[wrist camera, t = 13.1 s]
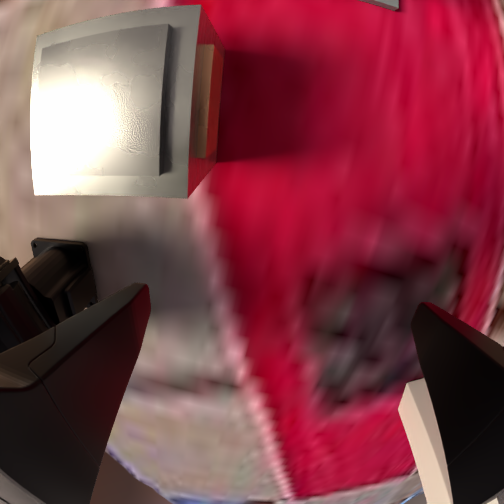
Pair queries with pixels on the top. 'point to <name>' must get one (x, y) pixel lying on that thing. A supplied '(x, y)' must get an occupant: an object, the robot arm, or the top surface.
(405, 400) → the milk
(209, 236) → the top surface
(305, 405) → the top surface
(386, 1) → the pad
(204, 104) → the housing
